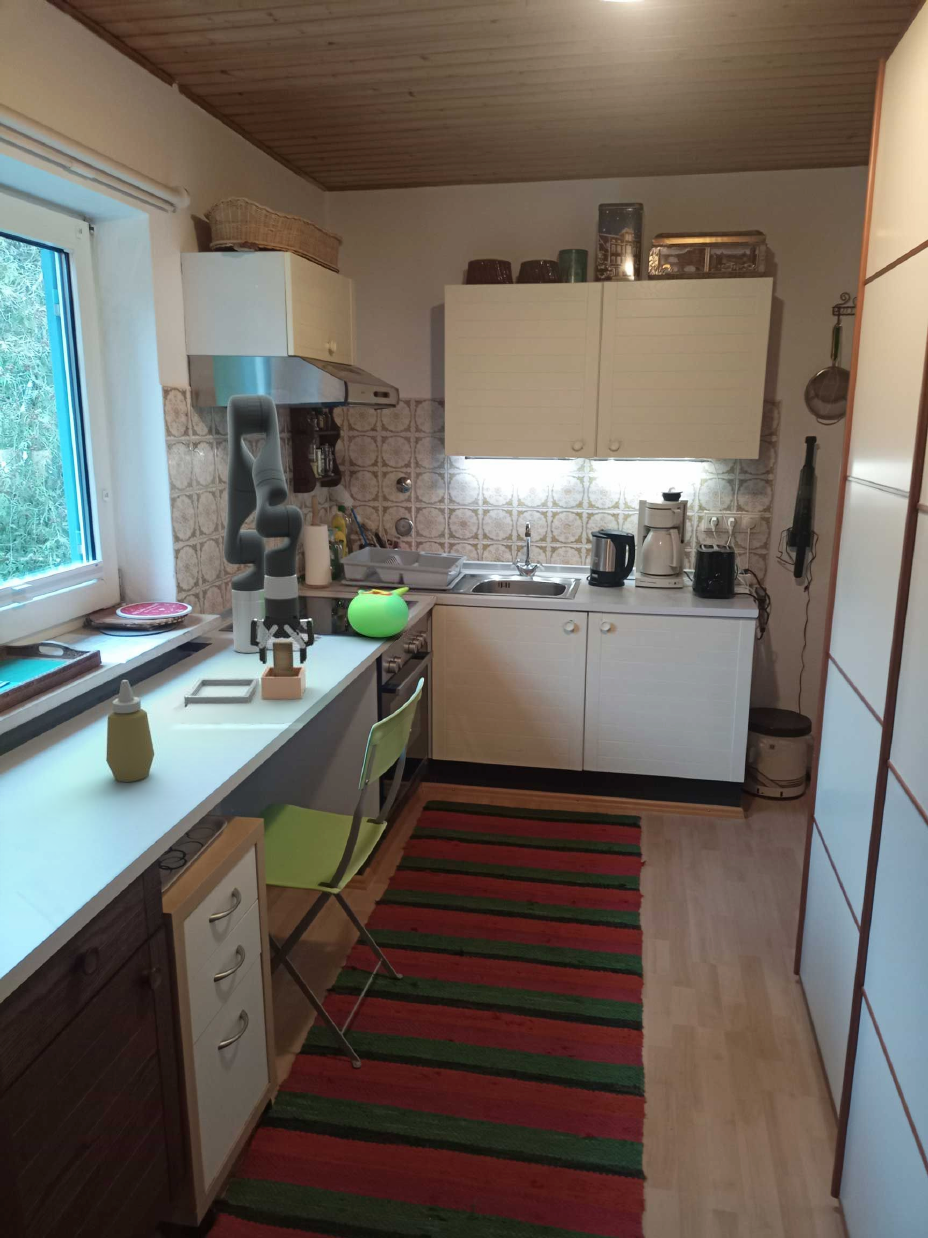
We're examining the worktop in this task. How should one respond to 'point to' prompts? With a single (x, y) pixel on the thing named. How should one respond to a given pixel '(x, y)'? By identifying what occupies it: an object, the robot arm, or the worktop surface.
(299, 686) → the terracotta box
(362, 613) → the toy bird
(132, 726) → the squeeze bottle
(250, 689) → the slate tray
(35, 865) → the worktop surface
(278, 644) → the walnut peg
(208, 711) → the worktop surface
